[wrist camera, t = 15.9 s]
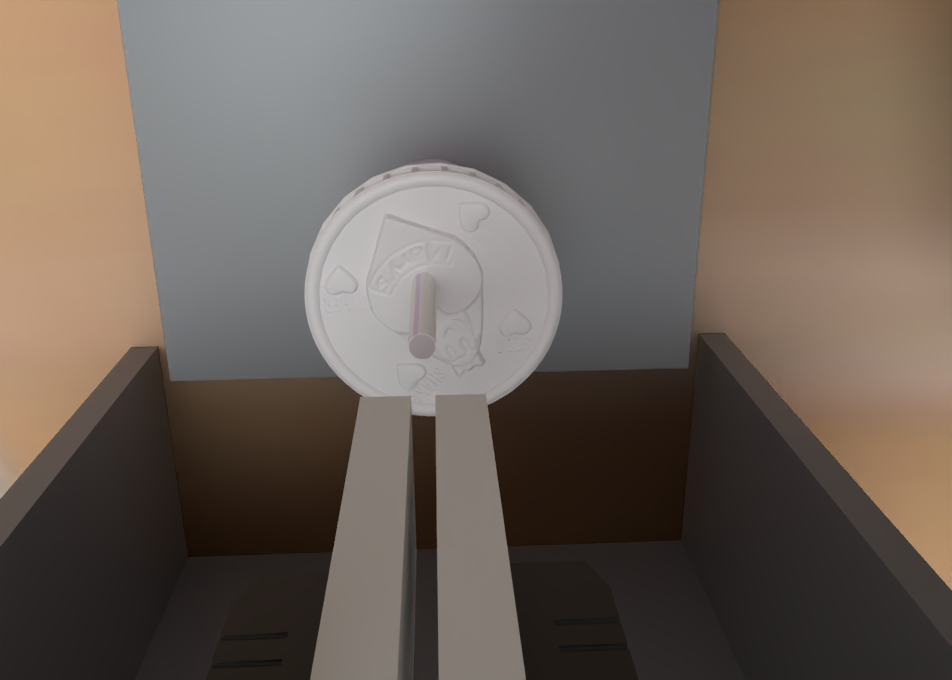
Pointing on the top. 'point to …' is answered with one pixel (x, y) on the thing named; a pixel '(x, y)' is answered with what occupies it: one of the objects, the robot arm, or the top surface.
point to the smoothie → (433, 286)
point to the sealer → (619, 564)
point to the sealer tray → (418, 156)
